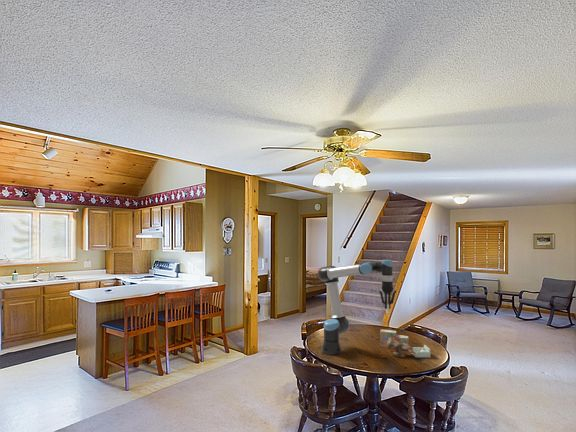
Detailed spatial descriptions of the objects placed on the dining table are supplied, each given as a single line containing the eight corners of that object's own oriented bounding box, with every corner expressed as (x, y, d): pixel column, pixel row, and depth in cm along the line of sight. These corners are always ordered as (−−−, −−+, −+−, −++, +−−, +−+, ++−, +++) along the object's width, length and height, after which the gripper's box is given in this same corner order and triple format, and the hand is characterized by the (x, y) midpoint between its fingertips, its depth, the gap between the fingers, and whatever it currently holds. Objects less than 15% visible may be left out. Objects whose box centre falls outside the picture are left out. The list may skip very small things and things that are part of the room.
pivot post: (396, 356, 247) (396, 345, 247) (393, 352, 255) (393, 341, 255) (404, 356, 246) (404, 345, 247) (401, 352, 255) (401, 341, 255)
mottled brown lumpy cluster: (390, 351, 243) (393, 341, 243) (385, 345, 254) (388, 337, 254) (414, 359, 242) (416, 349, 242) (408, 353, 253) (411, 344, 254)
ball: (421, 350, 249) (426, 350, 249) (419, 348, 252) (424, 349, 252) (421, 355, 249) (426, 355, 248) (419, 353, 252) (424, 353, 252)
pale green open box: (415, 357, 245) (415, 349, 246) (410, 352, 255) (410, 344, 256) (430, 357, 245) (430, 349, 245) (425, 352, 255) (425, 344, 255)
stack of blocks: (408, 348, 266) (408, 332, 267) (407, 350, 260) (407, 334, 261) (381, 344, 275) (381, 328, 276) (379, 346, 270) (379, 330, 270)
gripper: (379, 281, 243) (380, 314, 242) (397, 281, 243) (398, 314, 242) (377, 280, 251) (377, 311, 249) (394, 280, 250) (395, 312, 249)
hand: (387, 313), depth 246 cm, fingers closed
